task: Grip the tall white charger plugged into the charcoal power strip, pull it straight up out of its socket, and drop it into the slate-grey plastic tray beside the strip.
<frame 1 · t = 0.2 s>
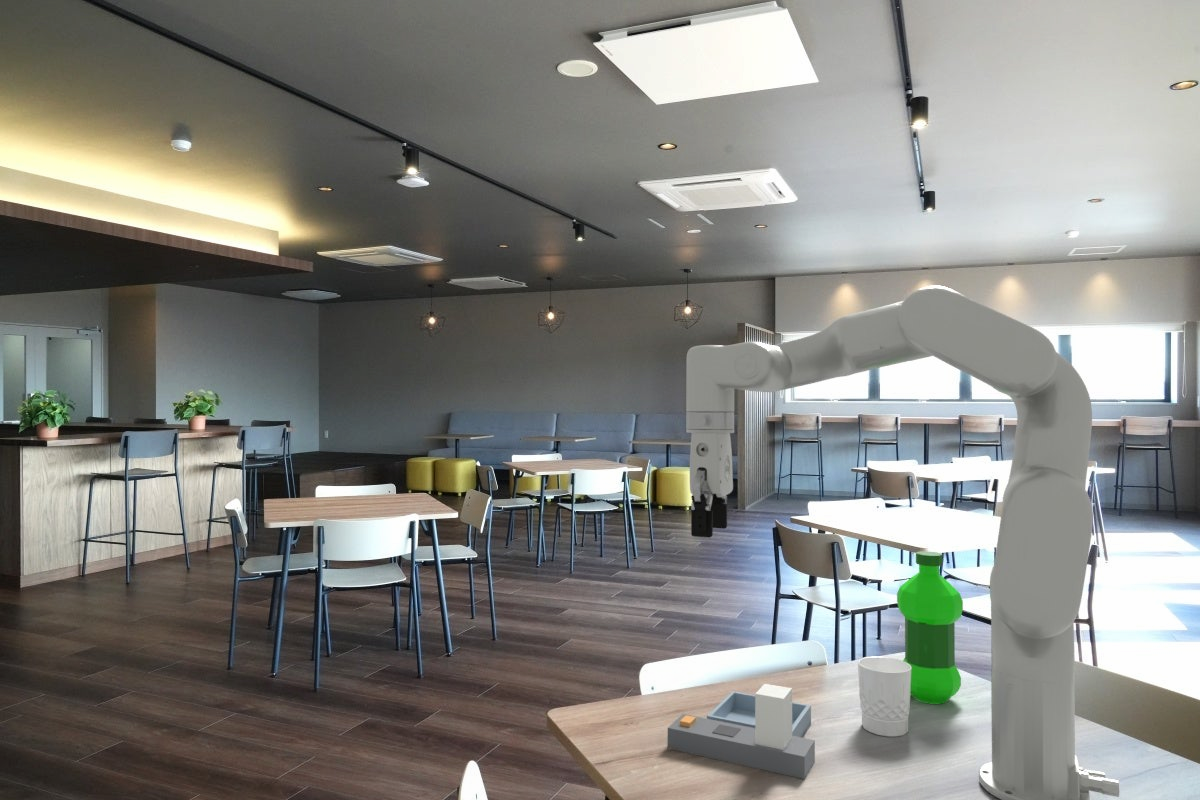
hand: (709, 532, 122), 30 cm above the table, tool pointing down, fingers open, 9 cm apart
plastic bottle: (929, 699, 133), on the table
tray: (759, 729, 120), on the table
strip: (739, 754, 111), on the table
white cup: (884, 729, 121), on the table
charger: (774, 740, 109), point 3 cm above the table, touching strip
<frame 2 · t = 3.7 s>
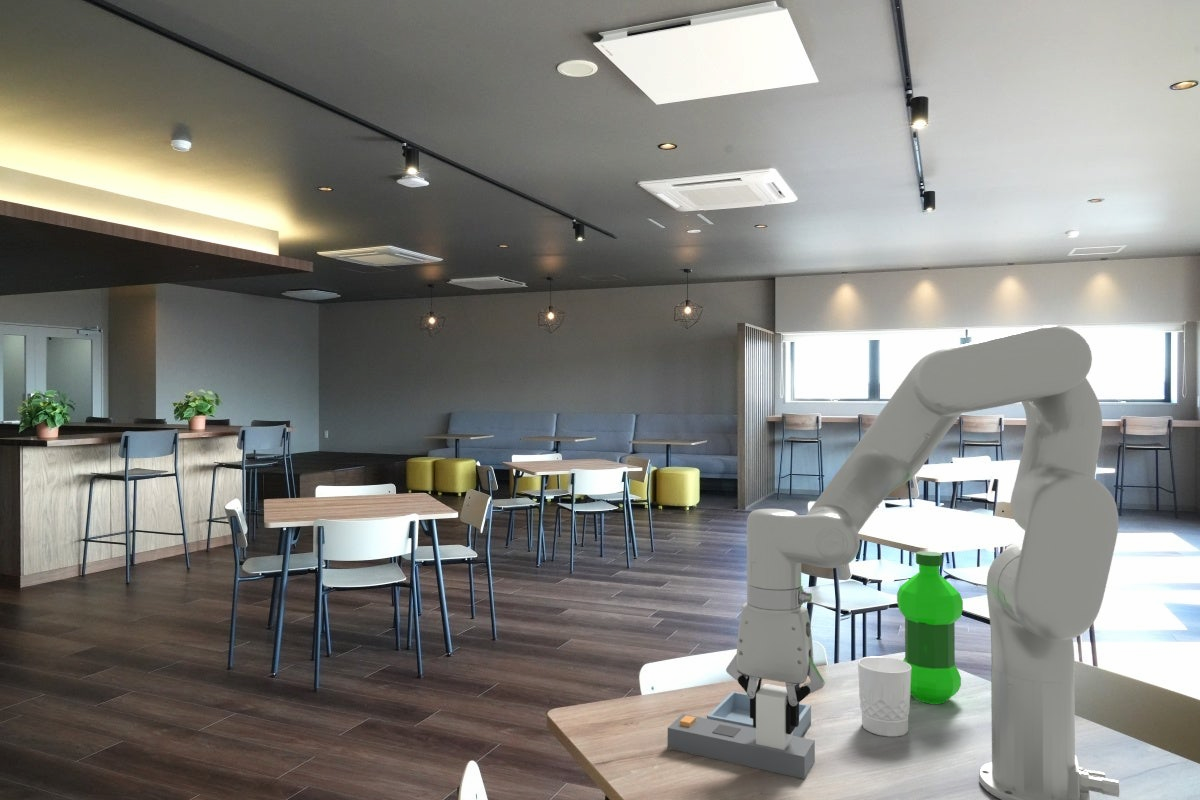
hand: (774, 726, 109), 5 cm above the table, tool pointing down, fingers closed on charger, 3 cm apart
charger: (774, 740, 109), point 3 cm above the table, touching gripper
everything else where it was.
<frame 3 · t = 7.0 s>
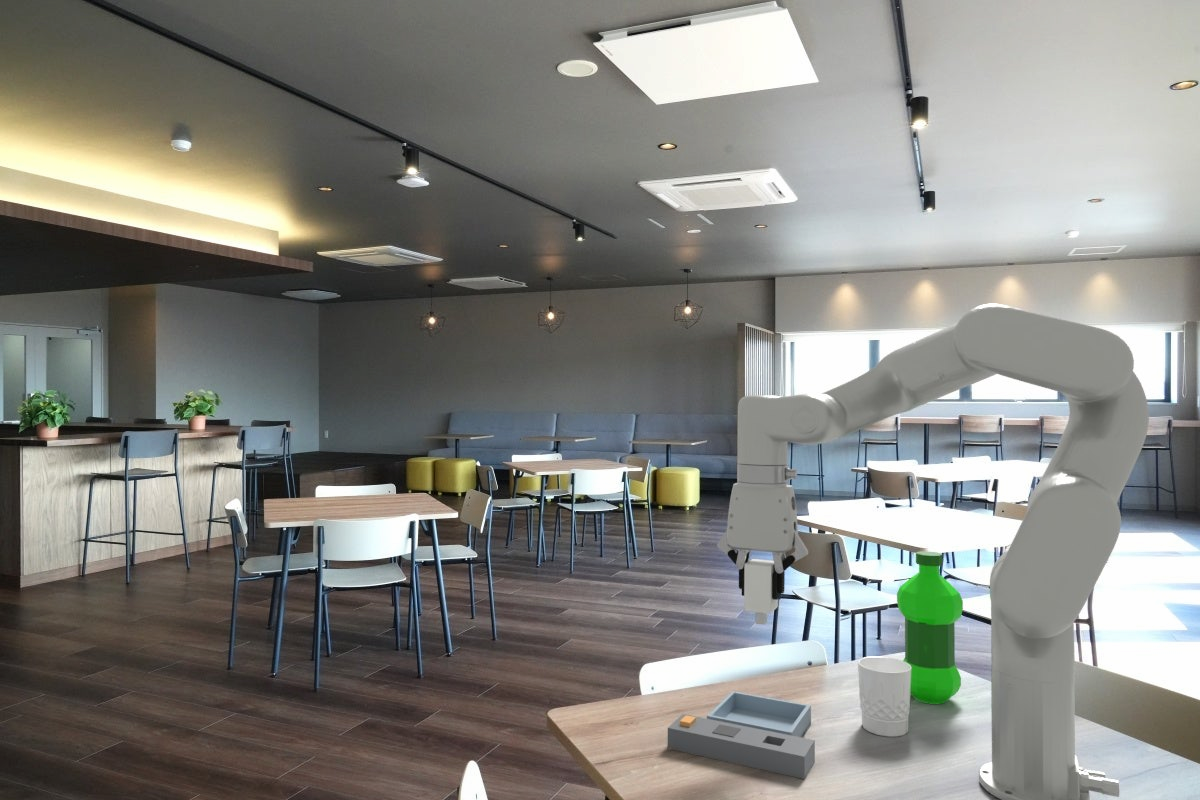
hand: (761, 594, 118), 22 cm above the table, tool pointing down, fingers closed on charger, 4 cm apart
charger: (761, 608, 118), point 19 cm above the table, touching gripper
everything else where it was.
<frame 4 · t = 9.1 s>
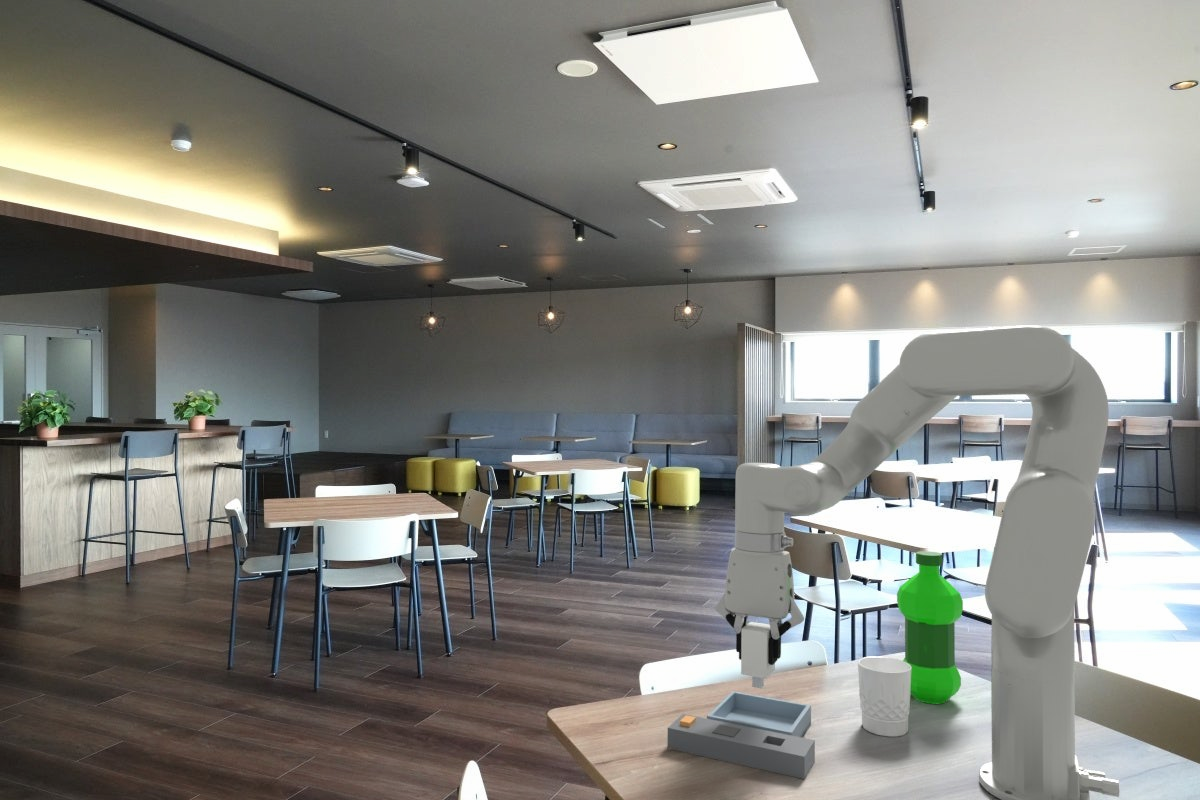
hand: (758, 658, 120), 11 cm above the table, tool pointing down, fingers closed on charger, 4 cm apart
charger: (758, 672, 120), point 9 cm above the table, touching gripper
everything else where it was.
when the fingers open (7 cm above the table, at t = 10.6 s): charger drops 2 cm, resting on tray.
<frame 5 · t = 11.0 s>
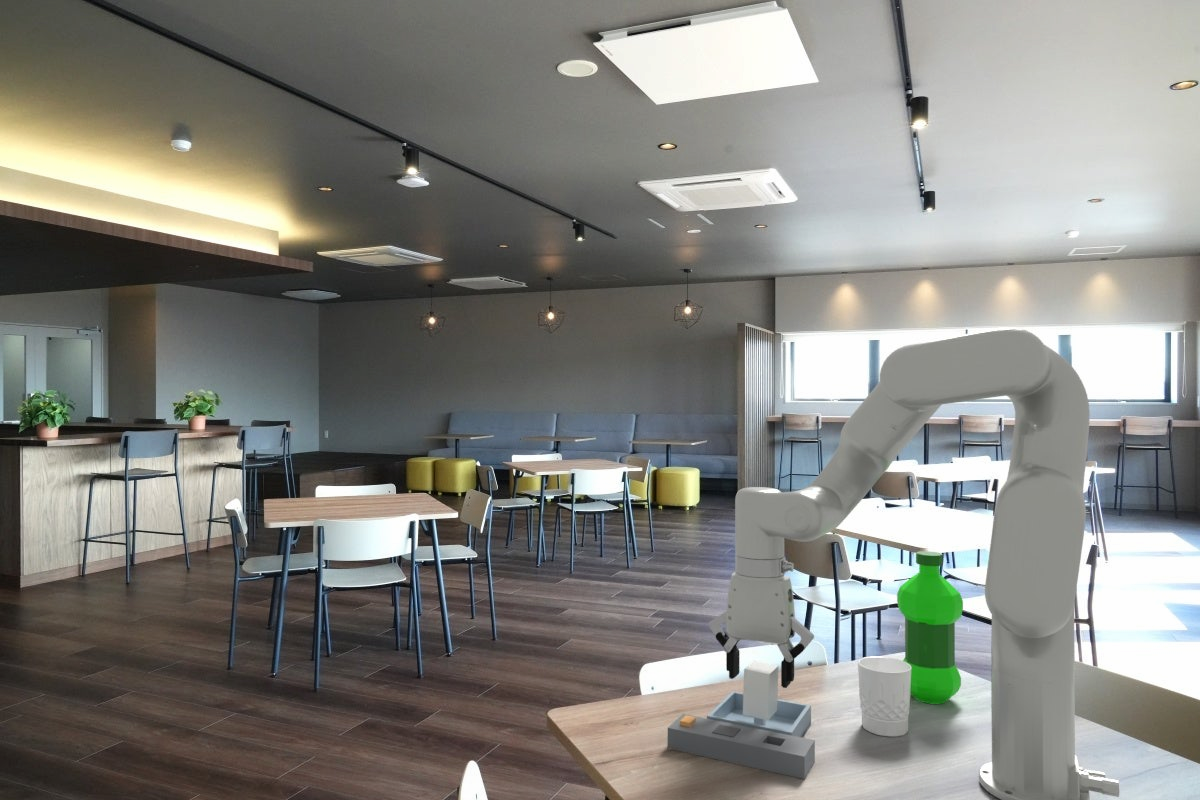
hand: (759, 679, 120), 8 cm above the table, tool pointing down, fingers open, 7 cm apart
charger: (760, 712, 120), point 3 cm above the table, touching tray
everything else where it was.
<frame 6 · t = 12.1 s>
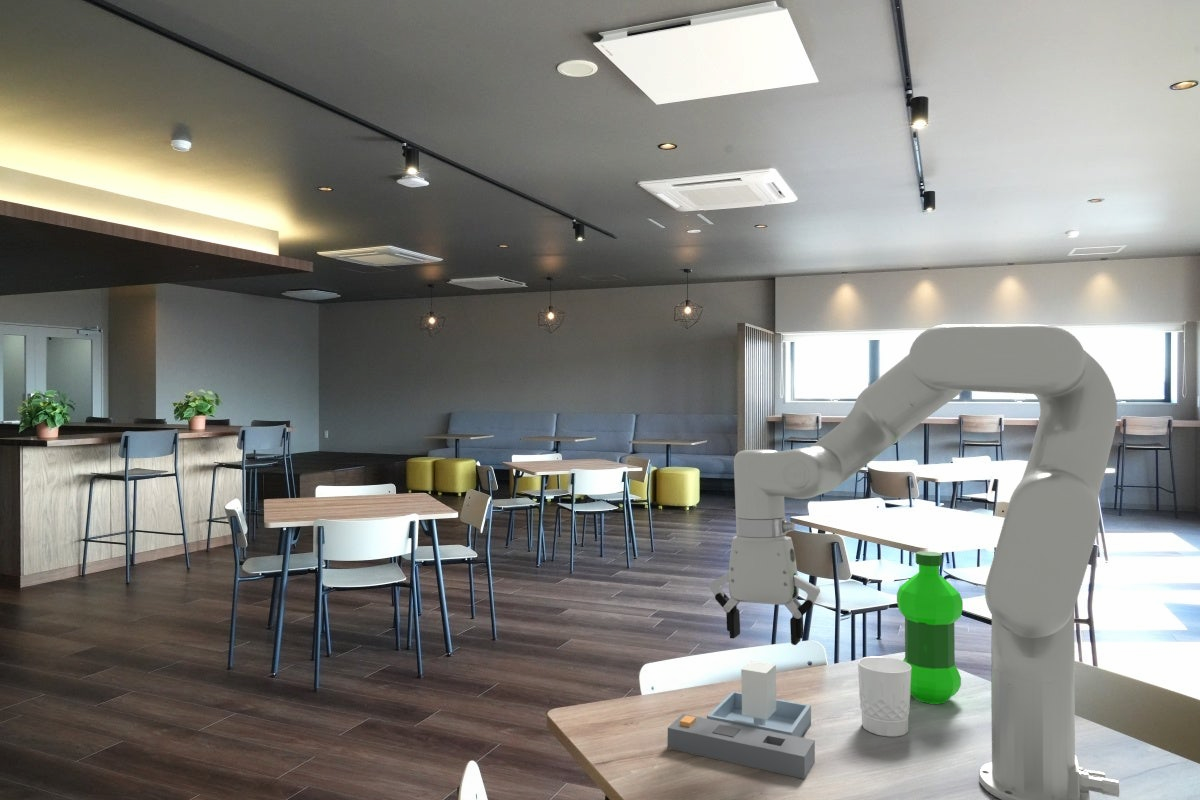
hand: (764, 639, 120), 14 cm above the table, tool pointing down, fingers open, 9 cm apart
nothing on the table moved.
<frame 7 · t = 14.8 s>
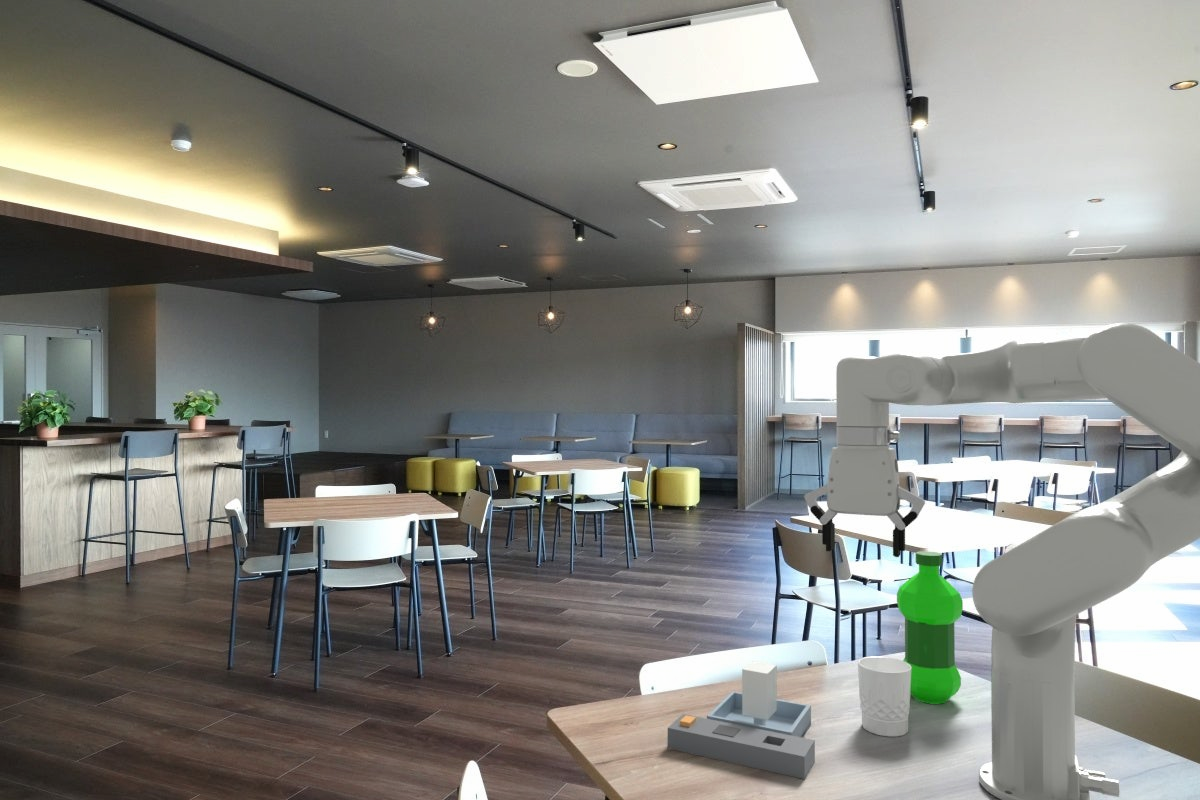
hand: (863, 552, 116), 28 cm above the table, tool pointing down, fingers open, 9 cm apart
nothing on the table moved.
at the end: charger inside the target area on the tray (0.1 cm from its centre), point 2.7 cm above the tray's base; charger touching tray; the gripper is holding nothing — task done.
